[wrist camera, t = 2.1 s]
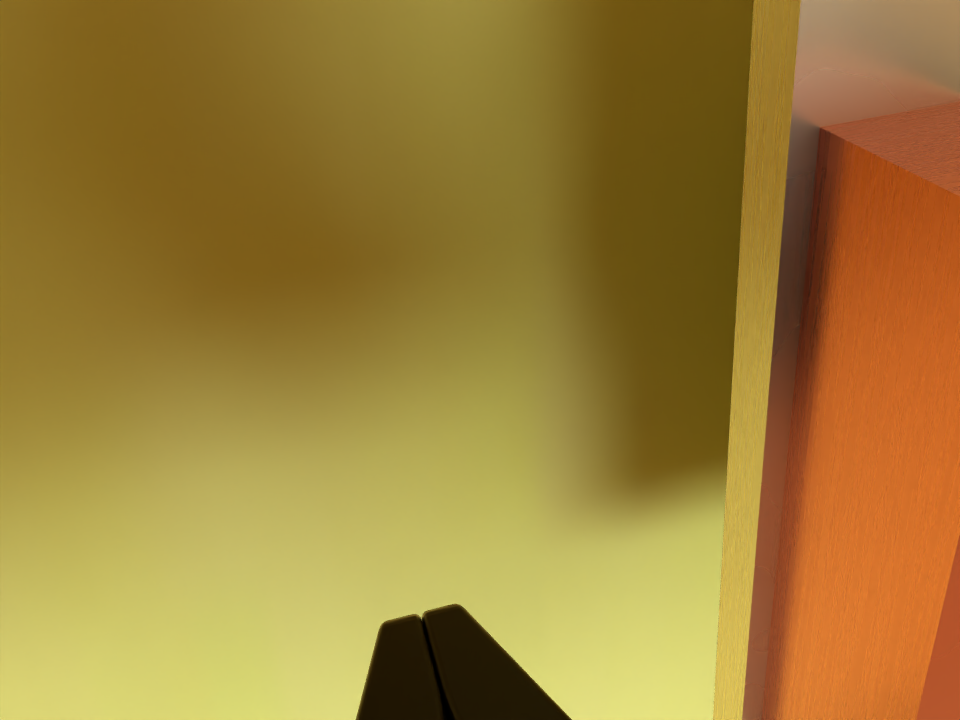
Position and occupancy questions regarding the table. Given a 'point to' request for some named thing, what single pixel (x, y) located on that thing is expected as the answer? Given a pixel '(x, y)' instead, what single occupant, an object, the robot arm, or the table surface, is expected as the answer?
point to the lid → (846, 370)
